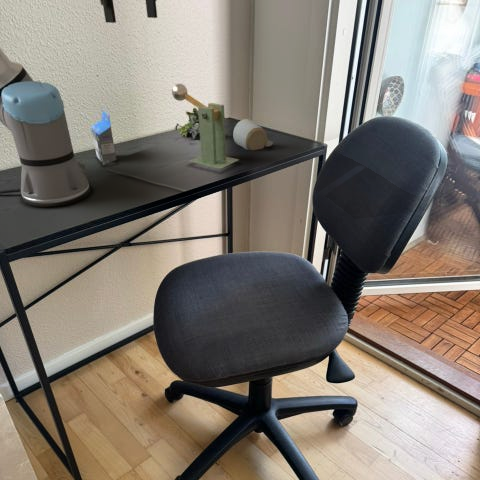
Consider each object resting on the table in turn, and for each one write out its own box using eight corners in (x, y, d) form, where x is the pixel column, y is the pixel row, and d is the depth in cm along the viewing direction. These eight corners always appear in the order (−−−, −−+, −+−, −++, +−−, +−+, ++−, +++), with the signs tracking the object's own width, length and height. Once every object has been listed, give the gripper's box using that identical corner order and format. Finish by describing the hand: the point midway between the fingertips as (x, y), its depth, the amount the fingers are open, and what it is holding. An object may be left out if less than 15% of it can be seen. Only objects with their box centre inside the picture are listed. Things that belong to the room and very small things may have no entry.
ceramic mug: (246, 155, 132) (246, 127, 128) (232, 148, 138) (232, 120, 133) (278, 150, 136) (279, 122, 132) (263, 143, 142) (264, 116, 137)
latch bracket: (188, 165, 127) (183, 106, 118) (208, 156, 132) (204, 99, 123) (220, 173, 121) (217, 112, 113) (239, 164, 127) (238, 105, 118)
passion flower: (210, 155, 150) (230, 125, 142) (188, 158, 142) (209, 126, 134) (188, 129, 151) (206, 98, 144) (165, 131, 143) (184, 98, 135)
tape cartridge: (96, 157, 134) (87, 111, 126) (109, 155, 135) (101, 109, 128) (104, 166, 127) (94, 118, 120) (118, 164, 129) (110, 116, 121)
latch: (167, 97, 122) (170, 82, 119) (177, 94, 125) (180, 79, 122) (208, 125, 119) (212, 110, 116) (218, 121, 121) (222, 107, 119)
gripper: (146, -92, 111) (157, 15, 123) (57, -101, 95) (80, 23, 107) (169, -95, 107) (178, 16, 120) (81, -104, 91) (102, 25, 104)
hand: (132, 20), depth 114 cm, fingers open, 13 cm apart
